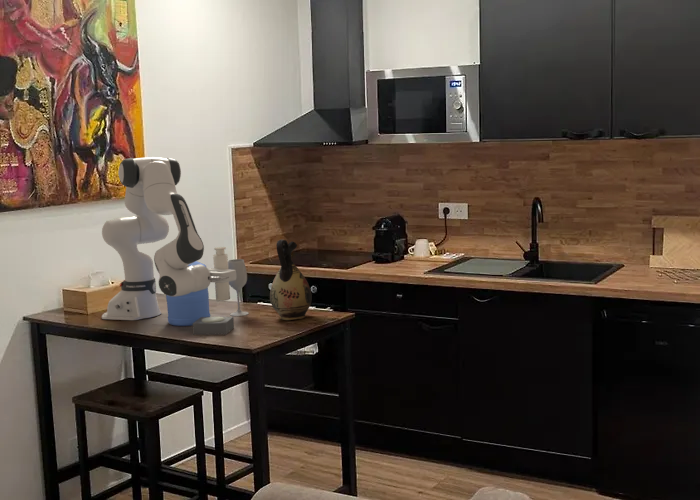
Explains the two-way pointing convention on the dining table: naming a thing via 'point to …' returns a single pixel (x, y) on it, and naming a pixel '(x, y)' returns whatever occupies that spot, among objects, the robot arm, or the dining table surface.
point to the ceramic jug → (289, 286)
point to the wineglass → (238, 281)
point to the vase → (221, 263)
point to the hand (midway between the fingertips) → (222, 271)
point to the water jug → (188, 306)
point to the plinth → (213, 325)
